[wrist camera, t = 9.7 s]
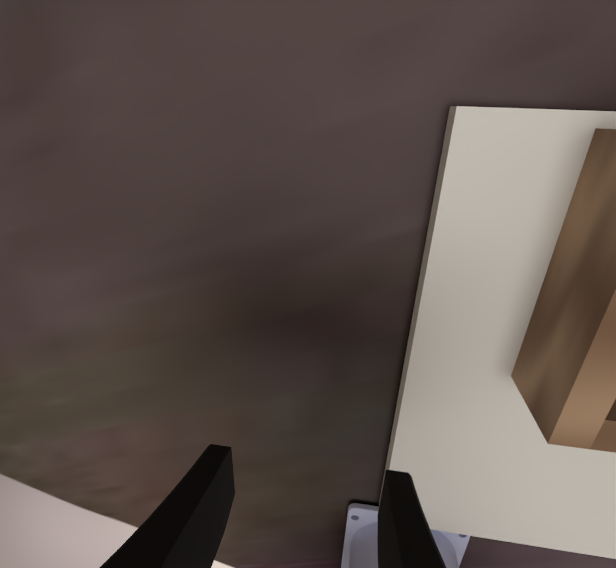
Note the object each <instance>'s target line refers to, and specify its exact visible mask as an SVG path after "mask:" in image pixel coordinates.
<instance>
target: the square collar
mask: <svg viewBox="0 0 616 568" xmlns="http://www.w3.org/2000/svg"><path fill="white" fill-rule="evenodd" d="M511 377H512V379H513V381H514V383H515V385H516V387H517V388H518V390H519V392H520V394H521V396H522V398H523V399H524V401H525V403H526V405H527V407H528V409H529V410H530V412H531V414H532V416H533V418H534V420H535V421H536V423H537V425H538V427H539V429H540V431H541V433H542V434H543V436H544V438H545V440H546V442H547V444H553V445H561V446H568V447H576V448H584V449H591V450H599V451H607V452H614V453H616V129H600V128H595V131H594V134H593V137H592V140H591V143H590V146H589V149H588V152H587V155H586V158H585V161H584V164H583V166H582V169H581V172H580V175H579V178H578V181H577V184H576V187H575V190H574V193H573V196H572V199H571V202H570V205H569V207H568V210H567V213H566V216H565V219H564V222H563V225H562V228H561V231H560V234H559V237H558V240H557V243H556V246H555V248H554V251H553V254H552V257H551V260H550V263H549V266H548V269H547V272H546V275H545V278H544V281H543V284H542V287H541V290H540V292H539V295H538V298H537V301H536V304H535V307H534V310H533V313H532V316H531V319H530V322H529V325H528V328H527V331H526V333H525V336H524V339H523V342H522V345H521V348H520V351H519V354H518V357H517V360H516V363H515V366H514V369H513V372H512V374H511Z"/></svg>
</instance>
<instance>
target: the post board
mask: <svg viewBox="0 0 616 568" xmlns="http://www.w3.org/2000/svg"><path fill="white" fill-rule="evenodd" d="M595 128H600V129H616V112H615V111H586V110H556V109H526V108H496V107H466V106H450V109H449V114H448V120H447V126H446V131H445V137H444V142H443V148H442V154H441V159H440V165H439V170H438V176H437V181H436V187H435V193H434V198H433V204H432V209H431V215H430V221H429V226H428V232H427V237H426V243H425V249H424V254H423V260H422V265H421V271H420V277H419V282H418V288H417V293H416V299H415V304H414V310H413V316H412V321H411V327H410V332H409V338H408V344H407V349H406V355H405V360H404V366H403V372H402V377H401V383H400V388H399V394H398V400H397V405H396V411H395V416H394V422H393V427H392V433H391V439H390V444H389V450H388V455H387V461H386V467H385V472H386V469H387V470H394V471H401V472H408V473H409V474H410V475H411V476H412V479H413V483H414V486H415V489H416V492H417V495H418V498H419V501H420V504H421V507H422V509H423V512H424V515H425V517H426V520H427V523H428V525H429V528H430V529H432V530H438V531H444V532H450V533H457V534H463V535H469V536H475V537H482V538H488V539H494V540H500V541H507V542H513V543H519V544H526V545H532V546H538V547H544V548H551V549H557V550H563V551H569V552H576V553H582V554H588V555H594V556H601V557H607V558H613V559H616V453H614V452H607V451H599V450H591V449H584V448H576V447H568V446H561V445H553V444H547V442H546V440H545V438H544V436H543V434H542V433H541V431H540V429H539V427H538V425H537V423H536V421H535V420H534V418H533V416H532V414H531V412H530V410H529V409H528V407H527V405H526V403H525V401H524V399H523V398H522V396H521V394H520V392H519V390H518V388H517V387H516V385H515V383H514V381H513V379H512V377H511V374H512V372H513V369H514V366H515V363H516V360H517V357H518V354H519V351H520V348H521V345H522V342H523V339H524V336H525V333H526V331H527V328H528V325H529V322H530V319H531V316H532V313H533V310H534V307H535V304H536V301H537V298H538V295H539V292H540V290H541V287H542V284H543V281H544V278H545V275H546V272H547V269H548V266H549V263H550V260H551V257H552V254H553V251H554V248H555V246H556V243H557V240H558V237H559V234H560V231H561V228H562V225H563V222H564V219H565V216H566V213H567V210H568V207H569V205H570V202H571V199H572V196H573V193H574V190H575V187H576V184H577V181H578V178H579V175H580V172H581V169H582V166H583V164H584V161H585V158H586V155H587V152H588V149H589V146H590V143H591V140H592V137H593V134H594V131H595ZM385 472H384V477H385ZM383 483H384V478H383ZM383 483H382V488H383ZM381 494H382V489H381ZM380 500H381V495H380ZM380 500H379V505H380Z"/></svg>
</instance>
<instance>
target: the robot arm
mask: <svg viewBox="0 0 616 568" xmlns="http://www.w3.org/2000/svg"><path fill="white" fill-rule="evenodd" d="M234 495H235V489H234V476H233V464H232V452H231V447H227V446H220V445H213V444H211V445H209V446H208V447H207V448H206V450H205V451H204V452H203V454H202V455H201V456H200V457H199V459H198V460H197V461H196V463H195V464H194V465H193V466H192V468H191V469H190V470H189V471H188V472H187V474H186V475H185V476H184V477H183V479H182V480H181V481H180V482H179V483H178V485H177V486H176V487H175V488H174V489H173V490H172V492H171V493H170V494H169V495H168V496H167V497H166V498H165V500H164V501H163V502H162V503H161V504H160V505H159V506H158V508H157V509H156V510H155V511H154V512H153V513H152V514H151V515H150V517H149V518H148V519H147V520H146V521H145V522H144V523H143V524H142V525H141V526H140V527H139V528H138V529H137V530H136V531H135V532H134V533H133V535H132V536H131V537H130V538H129V539H128V540H127V541H126V542H125V543H124V544H123V545H122V546H121V547H120V548H119V549H118V550H117V551H116V552H115V553H114V554H113V555H112V556H111V557H110V558H109V559H108V560H107V561H106V562H105V563H104V564H103V565H102V566H101V567H100V568H211V566H212V563H213V561H214V558H215V555H216V553H217V550H218V547H219V545H220V542H221V539H222V537H223V534H224V531H225V528H226V524H227V521H228V517H229V513H230V510H231V506H232V502H233V498H234ZM469 539H470V536H469V535H463V534H457V533H450V532H444V531H438V530H432V529H430V528H429V525H428V523H427V520H426V517H425V515H424V512H423V509H422V507H421V504H420V501H419V498H418V495H417V492H416V489H415V486H414V483H413V479H412V476H411V475H410V474H409V473H408V472H401V471H394V470H387V469H386V472H385V477H384V483H383V488H382V494H381V500H380V505H379V507H378V506H372V505H365V504H359V503H352V504H350V505H349V507H348V514H347V522H346V530H345V538H344V546H343V554H342V562H341V568H459V566H460V563H461V561H462V558H463V555H464V552H465V550H466V547H467V544H468V541H469Z"/></svg>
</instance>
